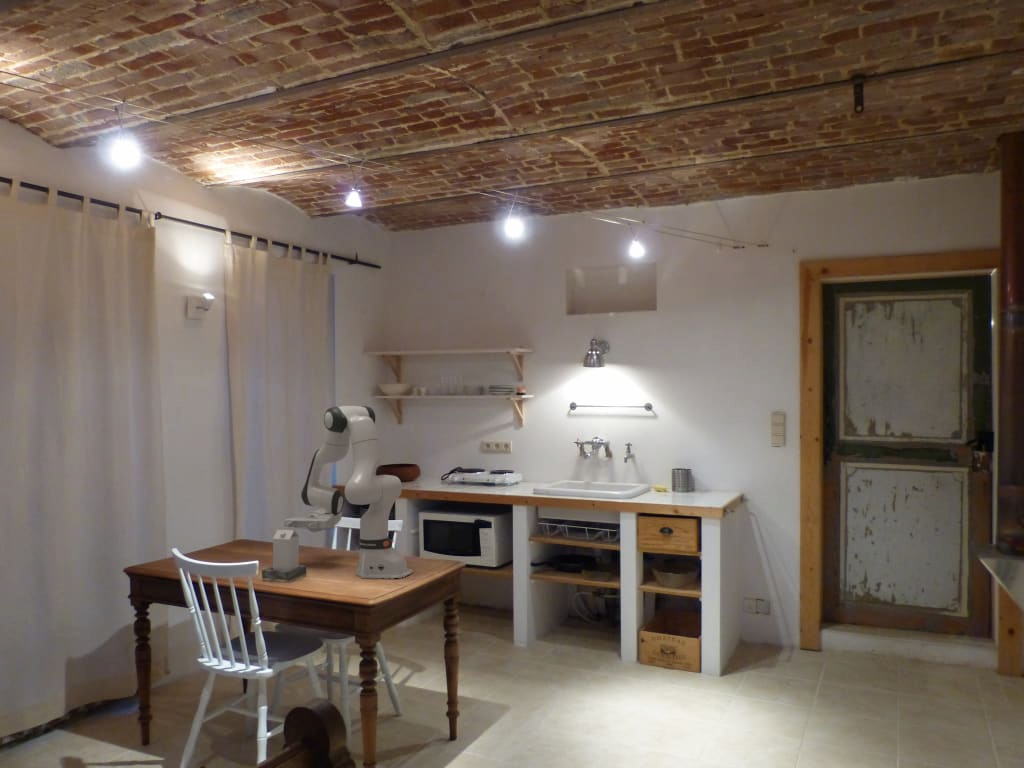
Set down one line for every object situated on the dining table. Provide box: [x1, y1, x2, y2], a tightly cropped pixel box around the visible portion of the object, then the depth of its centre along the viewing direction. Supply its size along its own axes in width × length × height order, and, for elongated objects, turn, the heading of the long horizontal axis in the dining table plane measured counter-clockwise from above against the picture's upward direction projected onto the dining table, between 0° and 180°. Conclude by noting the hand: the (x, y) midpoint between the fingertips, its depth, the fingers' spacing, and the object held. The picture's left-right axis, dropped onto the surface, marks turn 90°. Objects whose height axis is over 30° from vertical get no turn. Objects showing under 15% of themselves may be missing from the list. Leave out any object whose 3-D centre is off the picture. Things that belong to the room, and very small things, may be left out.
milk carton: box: [272, 526, 300, 571], centre depth 298 cm, size 7×7×19 cm
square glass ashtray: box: [261, 564, 307, 583], centre depth 298 cm, size 12×12×4 cm
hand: (298, 526), depth 311 cm, fingers open, 8 cm apart
